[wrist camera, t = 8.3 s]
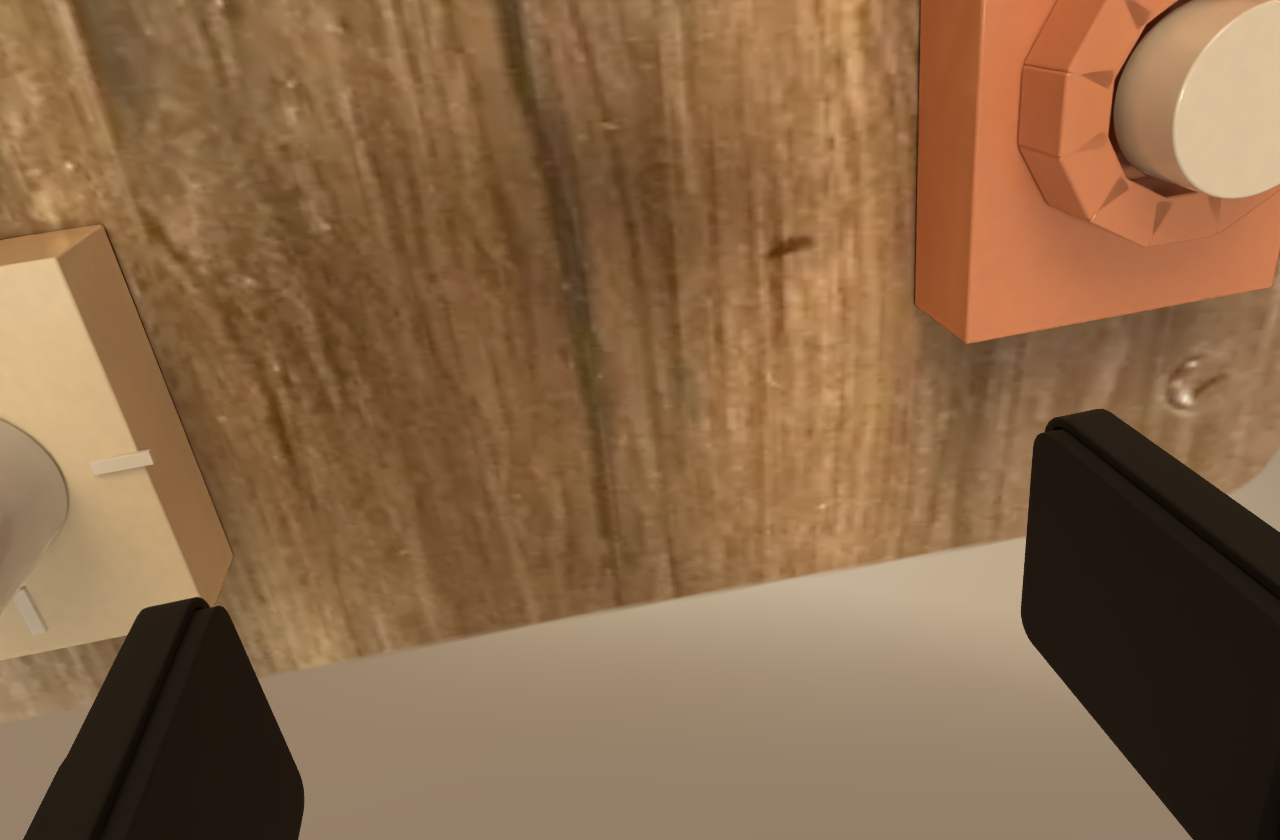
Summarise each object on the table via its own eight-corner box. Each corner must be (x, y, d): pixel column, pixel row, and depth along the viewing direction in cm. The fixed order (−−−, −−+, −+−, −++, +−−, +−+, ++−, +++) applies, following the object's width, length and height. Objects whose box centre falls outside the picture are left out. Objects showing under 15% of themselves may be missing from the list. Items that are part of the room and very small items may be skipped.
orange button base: (1192, 255, 28) (1327, 309, 24) (914, 306, 27) (1001, 371, 23) (1268, -212, 23) (1463, -256, 18) (922, -169, 22) (1040, -203, 17)
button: (1257, 166, 22) (1328, 184, 20) (1102, 192, 22) (1160, 213, 20) (1292, -18, 20) (1373, -16, 18) (1123, 7, 20) (1189, 12, 18)
